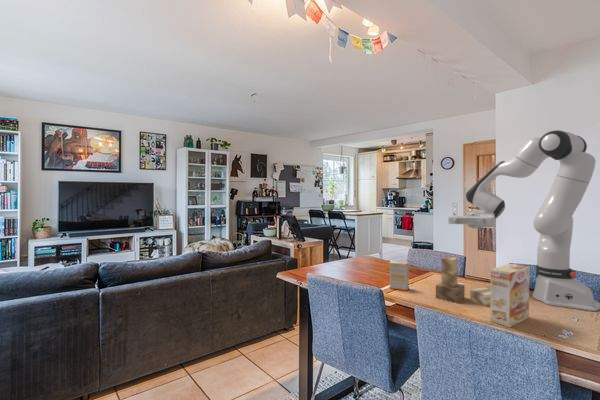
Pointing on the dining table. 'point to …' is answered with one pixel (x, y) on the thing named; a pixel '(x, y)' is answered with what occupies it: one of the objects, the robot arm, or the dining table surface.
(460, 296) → the walnut block
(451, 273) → the oak pillar
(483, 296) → the beech block
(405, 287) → the supplement box
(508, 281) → the coffeecake box
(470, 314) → the dining table surface
